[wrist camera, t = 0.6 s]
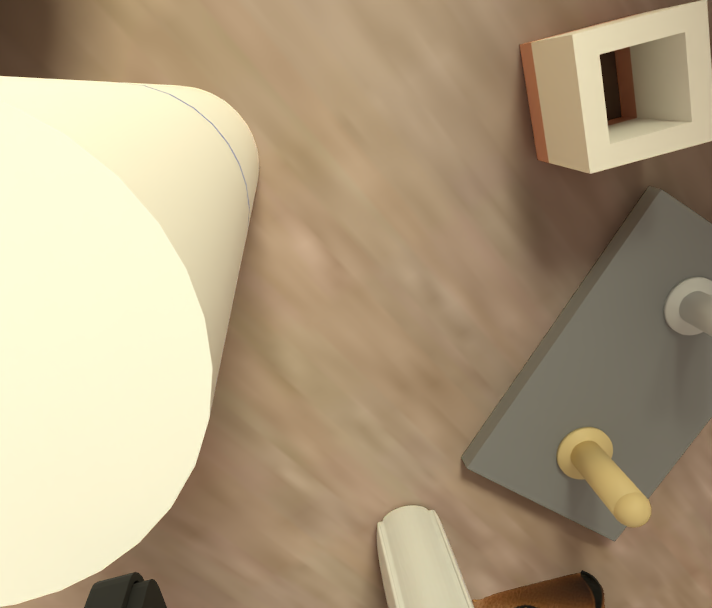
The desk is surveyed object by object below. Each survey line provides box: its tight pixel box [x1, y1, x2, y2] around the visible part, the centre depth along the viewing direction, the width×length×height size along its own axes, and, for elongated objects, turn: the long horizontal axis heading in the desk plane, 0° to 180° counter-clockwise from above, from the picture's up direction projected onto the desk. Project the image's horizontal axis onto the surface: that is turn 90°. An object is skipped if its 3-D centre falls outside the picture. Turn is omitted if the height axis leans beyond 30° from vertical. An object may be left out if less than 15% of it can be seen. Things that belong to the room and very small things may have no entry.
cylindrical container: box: [0, 76, 259, 607], centre depth 20 cm, size 7×7×25 cm
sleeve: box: [520, 0, 712, 174], centre depth 30 cm, size 6×6×6 cm
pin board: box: [461, 186, 712, 541], centre depth 34 cm, size 18×11×8 cm, turn 149°
